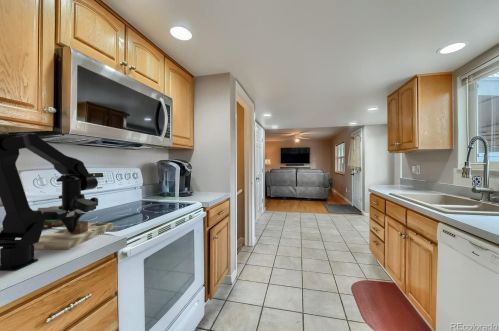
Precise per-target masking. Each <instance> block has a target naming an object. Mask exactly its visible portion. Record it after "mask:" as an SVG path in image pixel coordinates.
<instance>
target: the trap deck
mask: <svg viewBox="0 0 499 331" xmlns="http://www.w3.org/2000/svg"><path fill="white" fill-rule="evenodd" d="M113 229H114V222H88V231H86V232H84V233H81V234H70V232H69V231H68V229H67V228H66V227H63V228H60V229H58V230H55V231H52V232H48V233H45V234H41V236H40V239H39V242H37V243H35V244H33V245H34V250H35V249H37V250H43V249H44V250H71V249H72V248H74V247H76V246H78V245H81V244H83V243H85V242H88V241H89V239H90V240H91V238H92V239H94V238H96V237H98V236H100V235H102V234H104V233H103V232H105V233H106V232H108V231H111V230H113ZM101 233H102V234H101ZM99 234H100V235H99ZM97 235H98V236H97ZM95 236H96V237H95ZM93 237H94V238H93Z"/></svg>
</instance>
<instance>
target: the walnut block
mask: <svg viewBox="0 0 499 331" xmlns="http://www.w3.org/2000/svg"><path fill="white" fill-rule="evenodd" d="M88 223H89V221H88V220H78V222H77V225H76V227H75V230H74V232H72V233H70V234H81V233H84V232H86V231H88Z"/></svg>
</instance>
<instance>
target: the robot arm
mask: <svg viewBox="0 0 499 331" xmlns="http://www.w3.org/2000/svg"><path fill="white" fill-rule="evenodd" d="M23 149H27V150H28V151H30V152H32V153H33V154H35V155H37V156H38V157H40V158H42V159H43V160H45V161H47V162H49V163H50V164H51V165H53V168H54V170H55V171H57V172H58V173H59V174H60V175H61V176H59V177H58V178H57V179H56V182H57V183H58V182H61V195H58V199H61V205H62V206H61V205H59V206H60V207H59V209H62V210H49V211H45V212H43V213H42V212H41V211H38V210H35V209H32V208H31V206H30V204H29V202H28V198H27V195H26V192H25V189H24V185H23V183H22V180H21V177H20V174H19V171H18V167H17V164H16V163H17V161H18V159H19V156H20V150H23ZM98 185H99V181H98V179H97V178H96V177H95V176H94V173H90V172H89V171H88V169H87V167H86V166H85V163H84V162H83V161H82V160H81V159H77V158H75V157H73V156H68V155H65V154H64V153H63V152H61V151H60V150H59V149H57V148H55V147H54V146H53V145H52V144H50V143H48V142H47V141H46V140H44V139H42V138H41V137H40V135H38V134H37V133H34V132H19V133H13V134H11V133H10V134H8V133H0V201H1V203H2V206H3V208H4V212H5V215H4V217H3V220H2V222H1V223H2V230H1V231H0V271H17V270H20V269H22V268H24V267H26V266H28V265H31V264H33V263H34V262H37V261H39V258H35V249H34V245H33V244H35V243H37V242H39V239H40V236H42V232H43V230H44V229H43V228H44V223H43V222H45V220H59V219H60V220H61V221H62V222H63V224H64V225H63V226H65V228H67V229H68V231H69V232H70V233H72V232H74V230H75V227H76V225H77V222H78V221H80V218H81V217H82V216H83V215H85V214H86V213H89V212H93V211H95V210H96V209H97V206H98V207H99V198H98V197H95V196H94V197H91V198H85V194H84V193H82V191H89V190H94V189H96V188H97V187H98Z"/></svg>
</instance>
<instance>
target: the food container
mask: <svg viewBox="0 0 499 331" xmlns="http://www.w3.org/2000/svg"><path fill="white" fill-rule="evenodd" d="M60 206H62V204H61V205H52V206H49V207H38V208H37V210H38V211H41V212H42V213H43V212H45V211H49V210H62V209H59V207H60ZM43 223H44V228H43V230H46V228H49V229H53V228H52V227H56V228H59V227H63V226H65V225H64V224H63V222H62V221H61V220H60V219H59V220H45V222H43Z"/></svg>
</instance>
